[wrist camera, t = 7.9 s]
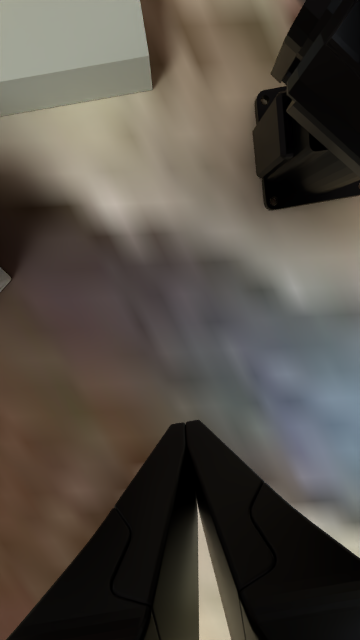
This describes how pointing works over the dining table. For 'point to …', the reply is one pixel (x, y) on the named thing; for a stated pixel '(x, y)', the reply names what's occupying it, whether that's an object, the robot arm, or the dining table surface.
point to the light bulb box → (4, 279)
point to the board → (70, 52)
